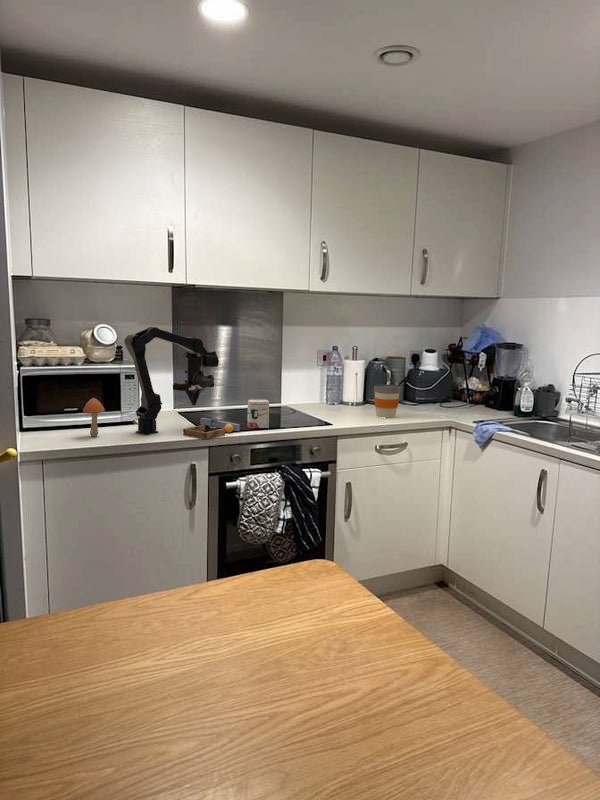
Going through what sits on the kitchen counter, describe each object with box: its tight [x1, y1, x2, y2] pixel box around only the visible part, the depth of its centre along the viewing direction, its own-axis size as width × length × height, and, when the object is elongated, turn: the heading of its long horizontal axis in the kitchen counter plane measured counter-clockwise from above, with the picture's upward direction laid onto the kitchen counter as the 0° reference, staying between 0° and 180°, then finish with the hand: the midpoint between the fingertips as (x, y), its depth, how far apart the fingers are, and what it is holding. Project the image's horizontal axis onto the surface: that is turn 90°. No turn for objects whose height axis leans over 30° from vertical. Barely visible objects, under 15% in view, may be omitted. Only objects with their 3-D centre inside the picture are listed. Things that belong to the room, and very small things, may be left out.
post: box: [208, 421, 219, 429], centre depth 242 cm, size 4×4×2 cm
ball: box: [224, 424, 233, 434], centre depth 232 cm, size 4×4×4 cm
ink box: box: [246, 399, 270, 430], centre depth 243 cm, size 9×5×12 cm, turn 105°
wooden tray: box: [183, 424, 226, 440], centre depth 227 cm, size 11×12×2 cm
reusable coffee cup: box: [373, 384, 401, 419], centre depth 276 cm, size 13×13×15 cm
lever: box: [200, 417, 241, 432], centre depth 240 cm, size 3×21×3 cm, turn 54°
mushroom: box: [82, 397, 106, 437], centre depth 219 cm, size 8×8×15 cm
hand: (193, 405), depth 239 cm, fingers closed
